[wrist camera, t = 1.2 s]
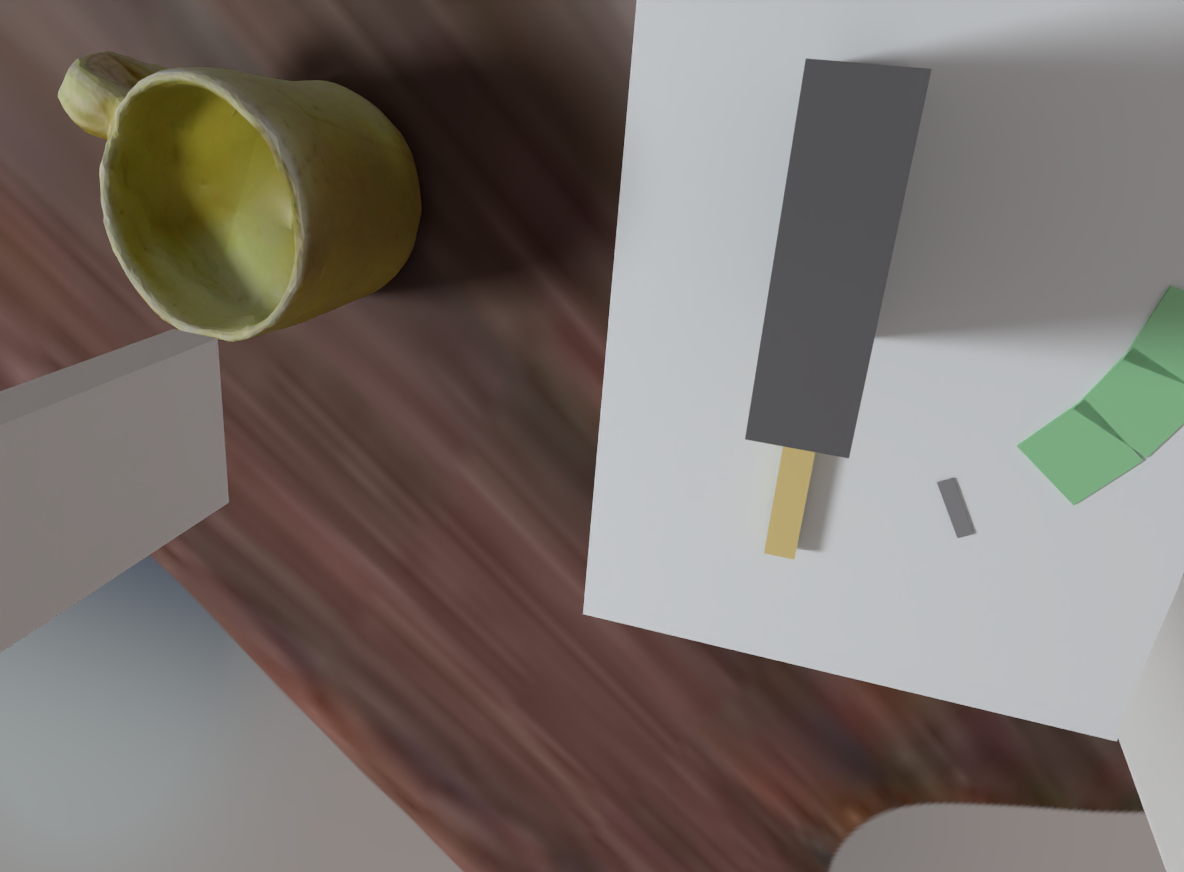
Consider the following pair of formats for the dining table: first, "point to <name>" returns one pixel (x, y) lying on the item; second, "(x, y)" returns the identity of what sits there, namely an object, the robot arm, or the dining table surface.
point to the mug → (244, 191)
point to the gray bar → (830, 268)
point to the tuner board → (912, 355)
